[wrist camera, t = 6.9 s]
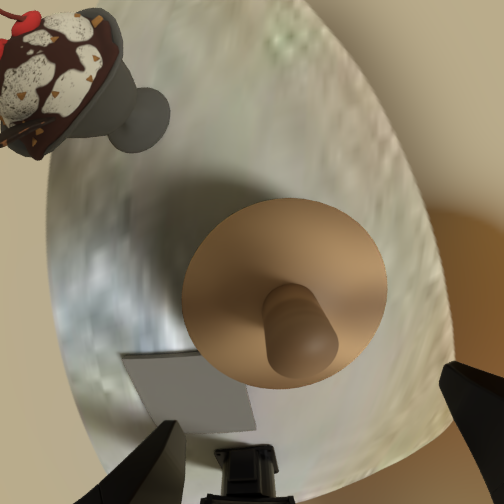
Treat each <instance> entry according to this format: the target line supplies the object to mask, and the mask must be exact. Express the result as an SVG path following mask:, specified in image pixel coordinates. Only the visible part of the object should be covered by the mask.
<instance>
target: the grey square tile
mask: <svg viewBox="0 0 504 504" xmlns="http://www.w3.org/2000/svg"><path fill="white" fill-rule="evenodd" d="M122 361H123V363H124V366H125V368H126V370H127V372H128V374H129V376H130V378H131V380H132V382H133V384H134V386H135V388H136V390H137V392H138V394H139V396H140V398H141V400H142V402H143V404H144V405H145V407H146V409H147V411H148V413H149V414H150V416H151V418H152V420H153V421H154V423H155V425H156V426H157V427H158V426H159V425H160V424H161V423H162V422H163V421H164V420H177V421H178V422H179V424H180V426H181V428H182V430H183V432H184V433H185V434H206V433H229V432H243V431H253V430H256V423H255V420H254V416H253V412H252V408H251V404H250V400H249V396H248V392H247V388H246V384H244V383H241V382H238V381H236V380H234V379H232V378H230V377H228V376H226V375H225V374H223V373H221V372H220V371H218V370H217V369H216V368H215V367H213V366H212V365H211V364H210V363H209V362H208V361H207V360H206V359H205V358H204V357H203V356H202V355H201V354H200V352H187V353H173V354H156V355H126V356H124V357H123V358H122Z"/></svg>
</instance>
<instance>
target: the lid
mask: <svg viewBox="0 0 504 504" xmlns="http://www.w3.org/2000/svg"><path fill="white" fill-rule="evenodd" d="M386 299H387V276H386V270H385V265H384V262H383V259H382V256H381V254H380V252H379V250H378V248H377V246H376V244H375V242H374V241H373V239H372V238H371V237H370V235H369V234H368V232H367V231H366V230H365V229H364V228H363V227H362V226H361V225H360V224H359V223H358V222H356V221H355V220H354V219H352V218H351V217H350V216H348V215H347V214H345V213H344V212H342V211H340V210H338V209H336V208H334V207H331V206H329V205H326V204H323V203H320V202H316V201H311V200H306V199H298V198H281V199H272V200H267V201H263V202H259V203H256V204H253V205H250V206H248V207H245V208H243V209H241V210H239V211H237V212H236V213H234V214H232V215H230V216H229V217H228V218H226V219H225V220H224V221H222V222H221V223H220V224H219V225H217V226H216V227H215V228H214V229H213V230H212V231H211V232H210V233H209V234H208V236H207V237H206V238H205V239H204V241H203V242H202V243H201V245H200V246H199V247H198V249H197V250H196V252H195V254H194V256H193V257H192V259H191V261H190V264H189V266H188V269H187V271H186V274H185V278H184V283H183V288H182V312H183V317H184V322H185V325H186V328H187V331H188V334H189V336H190V338H191V340H192V342H193V343H194V345H195V347H196V348H197V349H198V351H199V352H200V354H201V355H202V356H203V357H204V358H205V359H206V360H207V361H208V362H209V363H210V364H211V365H212V366H213V367H215V368H216V369H217V370H218V371H220V372H221V373H223V374H225V375H226V376H228V377H230V378H232V379H234V380H236V381H238V382H241V383H244V384H247V385H250V386H254V387H259V388H267V389H290V388H298V387H302V386H306V385H310V384H313V383H316V382H319V381H322V380H324V379H326V378H328V377H330V376H332V375H334V374H335V373H337V372H339V371H340V370H342V369H343V368H345V367H346V366H347V365H349V364H350V363H351V362H352V361H353V360H354V359H355V358H356V357H358V356H359V355H360V354H361V352H362V351H363V350H364V349H365V348H366V346H367V345H368V344H369V342H370V341H371V339H372V338H373V336H374V335H375V333H376V331H377V329H378V327H379V325H380V322H381V319H382V317H383V314H384V310H385V305H386Z"/></svg>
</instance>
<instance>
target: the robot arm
mask: <svg viewBox="0 0 504 504" xmlns="http://www.w3.org/2000/svg"><path fill="white" fill-rule="evenodd" d="M439 387H440V389H441V392H442V394H443V396H444V398H445V401H446V403H447V405H448V408H449V410H450V412H451V415H452V417H453V419H454V421H455V423H456V425H457V426H458V428H459V430H460V432H461V434H462V436H463V437H464V440H465V441H466V443H467V445H468V447H469V449H470V451H471V453H472V455H473V457H474V459H475V461H476V463H477V465H478V467H479V469H480V472H481V474H482V476H483V479H484V481H485V483H486V485H487V488H488V490H489V492H490V494H491V498H492V500H493V503H494V504H504V378H503V377H500V376H497V375H494V374H491V373H488V372H485V371H482V370H479V369H476V368H473V367H471V366H468V365H465V364H462V363H459V362H457V361H451V362H449V363H447V364H445V365H444V367H443V369H442V373H441V376H440V380H439ZM214 455H215V457H216V459H217V461H218V463H219V464H220V466H221V468H222V470H223V471H222V486H221V496H220V495H213V494H208V493H207V497H206V498H201V501H200V504H295V501H294V497H293V496H287V497H276V490H275V479H274V474H276V473H278V472H279V469H278V465H277V460H276V456H275V451H274V447H273V446H263V447H253V448H240V449H222V450H215V451H214ZM185 461H186V436H185V433H184V432H183V430H182V428H181V426H180V424H179V422H178V421H177V420H164V421H163V422H162V423H161V424H160V425H159V426H158V427H157V428H156V429H155V430H154V431H153V432H152V433H151V434H150V435H149V436H148V437H147V438H146V439H145V440H144V441H143V442H142V443H141V444H140V445H139V446H138V447H137V448H136V449H135V450H134V451H133V452H132V453H130V454H129V455H128V456H127V457H126V458H125V459H124V460H123V461H122V462H121V463H120V464H119V465H118V466H117V467H116V468H115V469H114V470H113V471H111V472H110V473H109V474H108V475H107V476H106V477H105V478H104V479H103V480H102V481H101V482H100V483H99V484H97V485H96V486H95V487H94V488H93V489H92V490H90V491H89V492H88V493H87V494H86V495H84V496H83V497H82V498H81V499H79V500H78V501H76V502H75V503H73V504H181V501H182V495H183V488H184V481H185Z"/></svg>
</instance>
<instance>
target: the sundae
mask: <svg viewBox="0 0 504 504" xmlns="http://www.w3.org/2000/svg"><path fill="white" fill-rule="evenodd" d="M0 14H1V15H3V16H6V17H8V18H10V19H14V20H17V21H16V23H15V24H14V26H13V27H12V30H11V31H12V36H11V38H10V39H9V40H6V39H0V120H1V133H0V148H2V147H5V146H8V147H9V148H10V149H11V150H13V151H15V152H16V153H18V154H20V155H22V156H25V157H32V158H33V159H35V160H37V161H38V160H42V158H43V157H44V155H46V154H48V153H50V152H52V151H53V150H54V149H55V148H56V147H58V146H59V145H60V144H61V143H62V142H63V141H64V140H65V139H66V138H89V137H97V136H105V135H108V136H109V139H110V141H111V142H112V144H113V145H114V146H115V147H116V148H117V149H119V150H121V151H123V152H126V153H138V152H142V151H144V150H147V149H148V148H150V147H152V146H153V145H154V144H156V143H157V142H158V141H159V140H160V138H161V137H162V136H163V134H164V133H165V131H166V129H167V127H168V124H169V119H170V108H169V104H168V102H167V99H166V98H165V97H164V96H163V94H161V93H160V92H159V91H157V90H155V89H152V88H148V87H147V88H136V85H135V83H134V80H133V78H132V75H131V73H130V71H129V69H128V68H127V66H126V65H125V63H124V62H123V60H122V58H123V39H122V36H121V32H120V29H119V26H118V24H117V22H116V19H115V18H114V17H113V16H112V15H111V14H110V13H109V12H107V11H105V10H104V9H102V8H89V9H85V10H82V11H79V12H76V13H73V12H60V13H55V14H53V15H50V16H47V17H45V18H43V19H41V18H42V17H41V14H40V13H39V12H38V11H29V12H27V13H25V14H23V15H22V16H20V15H14V14H11V13H8V12H5V11H3V10H2V9H0Z"/></svg>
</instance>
